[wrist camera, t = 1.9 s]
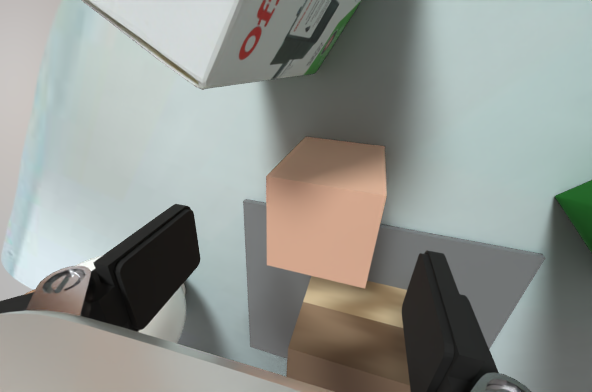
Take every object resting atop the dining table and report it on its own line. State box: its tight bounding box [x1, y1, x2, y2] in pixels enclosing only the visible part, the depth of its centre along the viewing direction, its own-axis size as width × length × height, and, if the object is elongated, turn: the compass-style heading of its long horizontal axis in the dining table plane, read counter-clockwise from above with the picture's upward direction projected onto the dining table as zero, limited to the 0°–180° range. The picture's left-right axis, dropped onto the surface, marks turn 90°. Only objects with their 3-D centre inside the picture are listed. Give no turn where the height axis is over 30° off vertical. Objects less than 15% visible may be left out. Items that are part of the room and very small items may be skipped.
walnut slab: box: [287, 302, 411, 392], centre depth 18 cm, size 8×8×4 cm
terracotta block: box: [266, 137, 387, 289], centre depth 15 cm, size 5×5×7 cm
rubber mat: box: [243, 199, 545, 359], centre depth 23 cm, size 20×18×1 cm
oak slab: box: [303, 276, 407, 328], centre depth 21 cm, size 8×8×4 cm
